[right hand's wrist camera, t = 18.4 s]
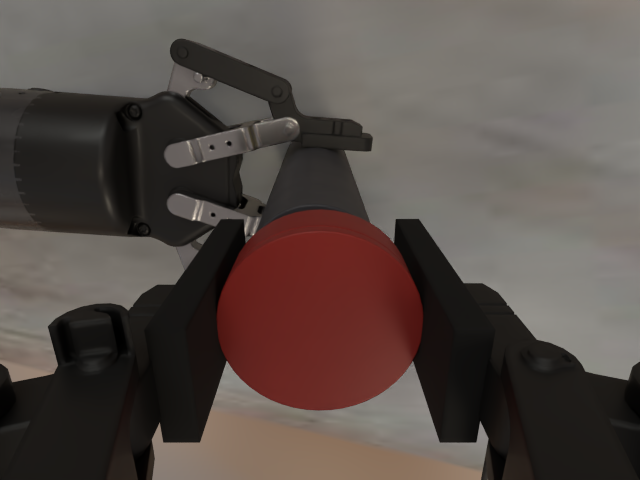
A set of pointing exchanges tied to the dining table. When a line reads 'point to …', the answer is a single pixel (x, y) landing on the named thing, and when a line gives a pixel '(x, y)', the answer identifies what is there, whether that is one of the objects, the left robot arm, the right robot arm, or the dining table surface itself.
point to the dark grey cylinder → (313, 184)
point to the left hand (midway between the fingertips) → (363, 185)
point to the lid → (319, 311)
